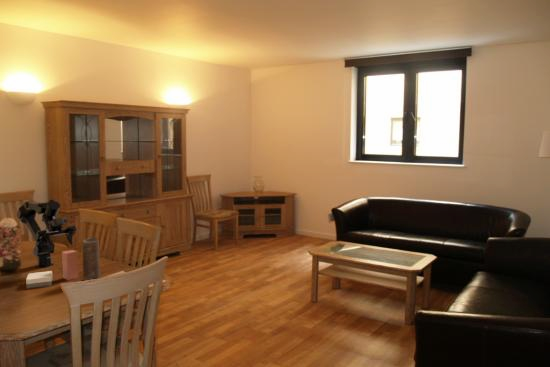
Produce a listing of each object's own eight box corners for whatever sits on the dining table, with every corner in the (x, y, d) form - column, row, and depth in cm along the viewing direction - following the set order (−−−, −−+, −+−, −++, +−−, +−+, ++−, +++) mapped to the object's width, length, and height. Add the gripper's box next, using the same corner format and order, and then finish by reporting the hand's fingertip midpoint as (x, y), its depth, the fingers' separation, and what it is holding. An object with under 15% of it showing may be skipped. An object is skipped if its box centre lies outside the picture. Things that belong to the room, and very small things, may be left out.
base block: (28, 281, 212) (28, 273, 212) (52, 278, 216) (52, 270, 215) (26, 288, 203) (26, 279, 202) (51, 285, 207) (50, 276, 206)
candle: (103, 278, 216) (101, 237, 214) (92, 283, 209) (90, 241, 207) (90, 277, 219) (88, 236, 216) (79, 281, 212) (77, 240, 209)
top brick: (63, 278, 217) (61, 251, 216) (73, 275, 221) (72, 249, 219) (67, 280, 214) (66, 253, 212) (78, 277, 218) (76, 251, 216)
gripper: (35, 214, 216) (46, 239, 210) (73, 209, 230) (85, 233, 224) (30, 229, 222) (41, 254, 216) (67, 223, 236) (79, 246, 230)
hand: (62, 246), depth 221 cm, fingers open, 9 cm apart
